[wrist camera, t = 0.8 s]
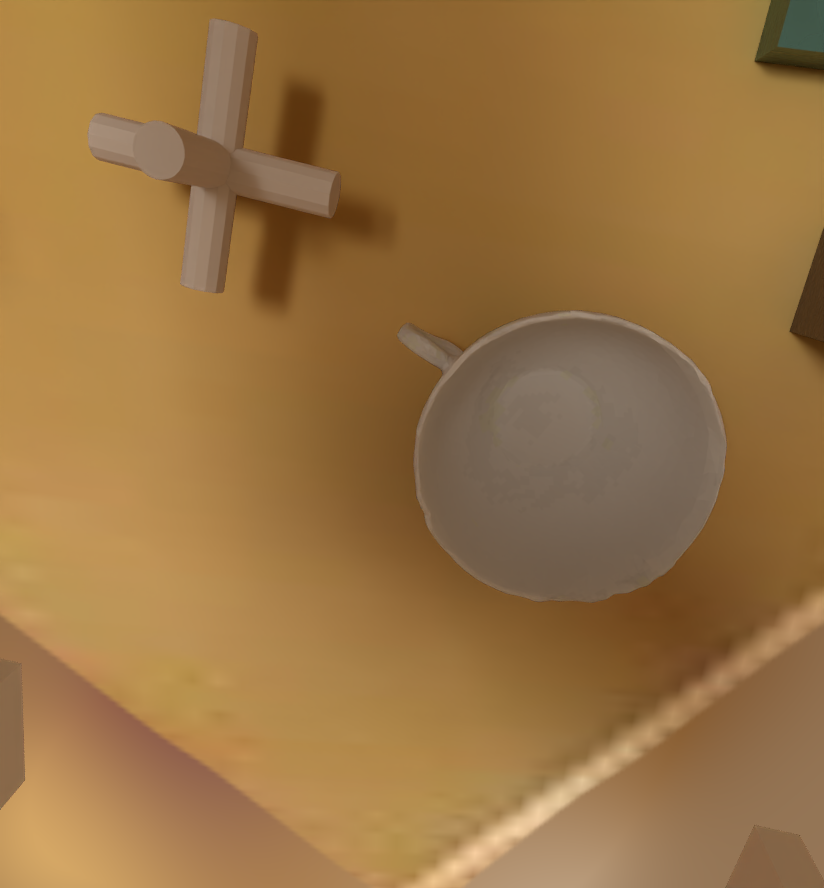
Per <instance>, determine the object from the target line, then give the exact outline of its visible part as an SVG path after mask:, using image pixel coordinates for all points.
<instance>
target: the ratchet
mask: <svg viewBox="0 0 824 888" xmlns="http://www.w3.org/2000/svg"><path fill="white" fill-rule="evenodd" d="M755 61H758V62H766V63H773V64H781V65H789V66H797V67H805V68H813V69H821V70H824V0H771V3H770V7H769V11H768V14H767V18H766V22H765V25H764V29H763V33H762V36H761V40H760V44H759V47H758V51H757V55H756V58H755Z"/></svg>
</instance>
